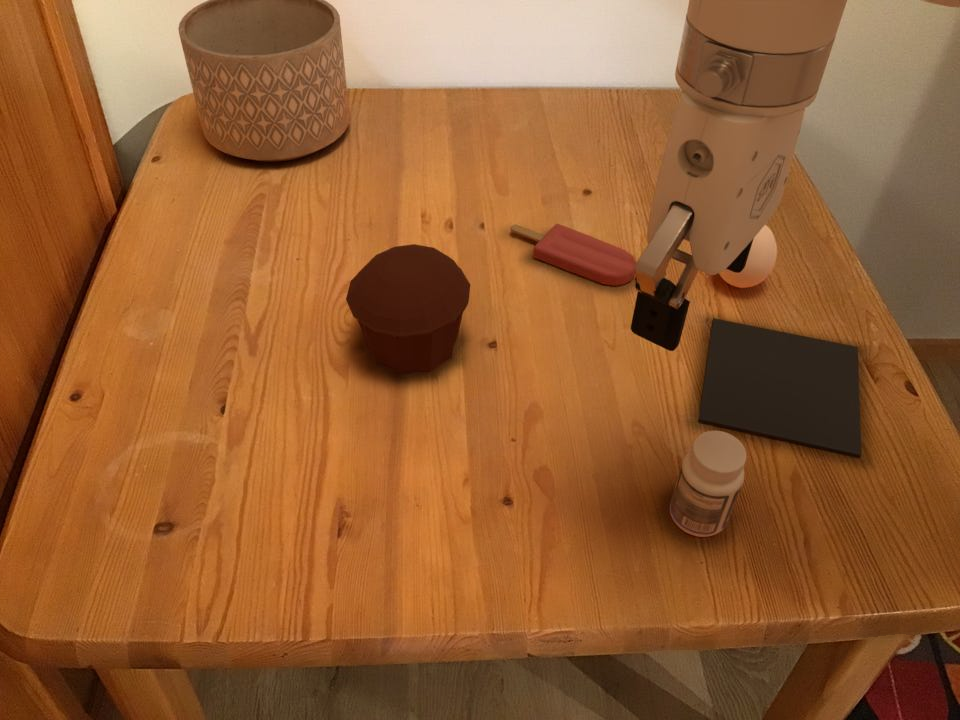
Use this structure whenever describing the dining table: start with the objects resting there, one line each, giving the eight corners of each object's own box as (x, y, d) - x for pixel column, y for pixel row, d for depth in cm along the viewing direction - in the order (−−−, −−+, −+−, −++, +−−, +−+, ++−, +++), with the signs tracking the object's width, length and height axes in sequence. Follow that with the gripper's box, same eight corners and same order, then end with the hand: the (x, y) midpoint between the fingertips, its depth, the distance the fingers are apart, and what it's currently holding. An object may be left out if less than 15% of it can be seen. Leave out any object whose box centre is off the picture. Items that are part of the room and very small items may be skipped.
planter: (353, 93, 117) (342, -12, 107) (348, 168, 104) (336, 56, 94) (215, 96, 116) (192, -11, 105) (194, 172, 103) (164, 59, 92)
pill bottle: (699, 481, 72) (721, 416, 66) (739, 521, 69) (765, 458, 63) (656, 506, 70) (675, 442, 64) (695, 548, 67) (719, 485, 61)
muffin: (396, 289, 88) (390, 210, 81) (490, 325, 85) (492, 246, 78) (329, 360, 81) (316, 280, 74) (429, 403, 77) (426, 323, 70)
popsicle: (523, 209, 96) (645, 255, 91) (523, 220, 97) (642, 266, 92) (499, 233, 93) (623, 282, 87) (498, 244, 94) (621, 293, 88)
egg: (696, 274, 91) (712, 216, 85) (740, 257, 93) (757, 199, 88) (734, 307, 87) (753, 249, 82) (778, 289, 89) (799, 231, 84)
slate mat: (856, 349, 83) (857, 346, 83) (859, 458, 74) (861, 455, 73) (712, 320, 86) (713, 318, 86) (698, 422, 76) (698, 419, 76)
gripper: (748, 149, 38) (678, 401, 50) (877, 20, 48) (792, 258, 60) (605, 97, 41) (572, 347, 54) (754, -14, 51) (697, 219, 63)
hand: (689, 299), depth 57 cm, fingers open, 9 cm apart
